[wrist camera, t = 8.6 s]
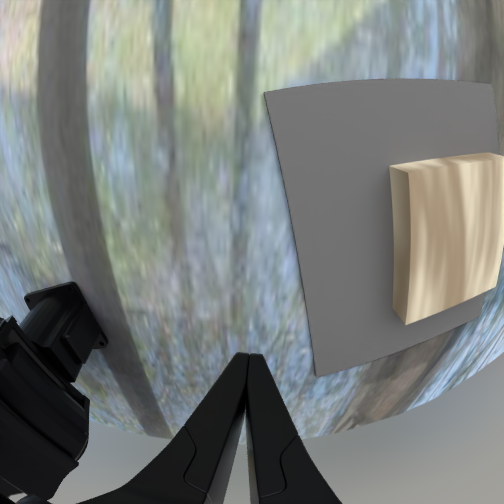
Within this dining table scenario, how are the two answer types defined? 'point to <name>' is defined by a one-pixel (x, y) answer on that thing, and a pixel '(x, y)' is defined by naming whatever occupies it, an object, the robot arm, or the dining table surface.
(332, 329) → the mat
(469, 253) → the birch tile
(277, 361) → the dining table surface
